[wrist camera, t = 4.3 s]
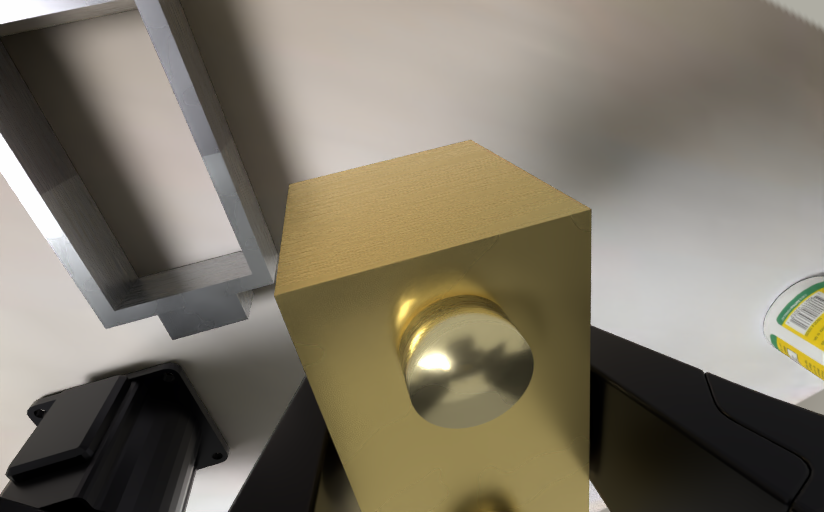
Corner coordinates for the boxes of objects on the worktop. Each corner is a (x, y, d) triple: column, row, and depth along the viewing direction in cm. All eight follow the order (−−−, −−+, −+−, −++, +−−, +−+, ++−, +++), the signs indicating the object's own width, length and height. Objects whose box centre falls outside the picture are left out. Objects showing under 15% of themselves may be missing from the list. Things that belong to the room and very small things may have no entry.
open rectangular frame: (289, 284, 19) (286, 316, 17) (148, 322, 19) (125, 361, 16) (123, -144, 12) (81, -185, 10) (-110, -104, 12) (-211, -139, 9)
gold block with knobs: (502, 400, 12) (608, 591, 7) (375, 440, 11) (413, 666, 7) (470, 139, 8) (626, 229, 4) (288, 184, 8) (268, 330, 4)
